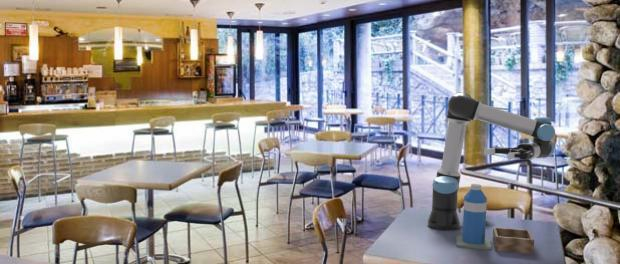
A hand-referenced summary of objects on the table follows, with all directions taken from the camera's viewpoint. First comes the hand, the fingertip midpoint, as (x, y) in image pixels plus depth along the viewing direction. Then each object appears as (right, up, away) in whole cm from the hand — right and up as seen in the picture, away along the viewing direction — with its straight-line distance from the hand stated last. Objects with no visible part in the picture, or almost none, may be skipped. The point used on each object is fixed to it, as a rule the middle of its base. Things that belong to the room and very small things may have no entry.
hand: (496, 153), depth 242 cm
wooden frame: (+3, -39, -11) cm, 41 cm away
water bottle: (-12, -38, -7) cm, 41 cm away
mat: (-12, -39, -7) cm, 41 cm away
